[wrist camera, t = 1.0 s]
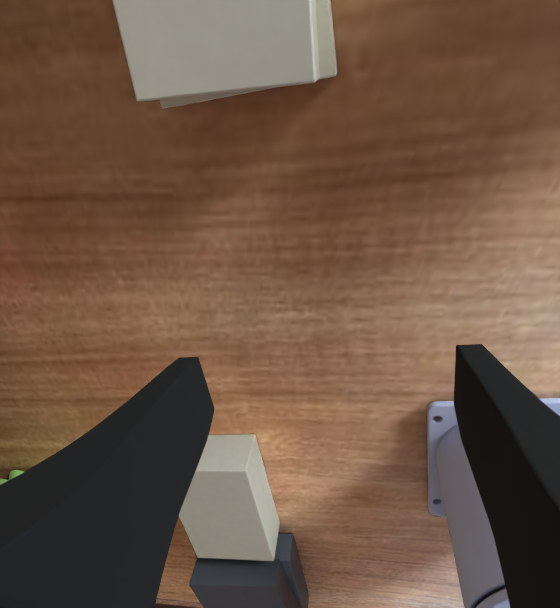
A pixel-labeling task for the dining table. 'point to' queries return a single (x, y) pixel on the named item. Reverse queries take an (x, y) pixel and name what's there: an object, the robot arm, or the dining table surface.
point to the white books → (224, 46)
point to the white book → (231, 502)
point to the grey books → (252, 580)
